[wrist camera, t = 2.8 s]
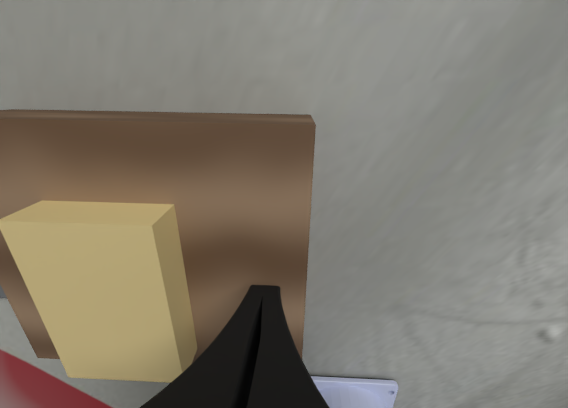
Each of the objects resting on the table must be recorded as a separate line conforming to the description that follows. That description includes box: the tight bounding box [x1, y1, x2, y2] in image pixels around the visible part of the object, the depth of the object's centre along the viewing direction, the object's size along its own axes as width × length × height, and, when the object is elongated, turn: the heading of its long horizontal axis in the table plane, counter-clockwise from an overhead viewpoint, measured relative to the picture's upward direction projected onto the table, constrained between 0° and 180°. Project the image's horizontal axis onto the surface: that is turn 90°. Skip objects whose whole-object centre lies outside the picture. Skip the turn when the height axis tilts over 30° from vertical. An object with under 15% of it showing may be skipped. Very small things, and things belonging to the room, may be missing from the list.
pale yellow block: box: [0, 201, 197, 383], centre depth 13 cm, size 9×6×2 cm, turn 179°
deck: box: [0, 110, 316, 363], centre depth 15 cm, size 14×16×4 cm
